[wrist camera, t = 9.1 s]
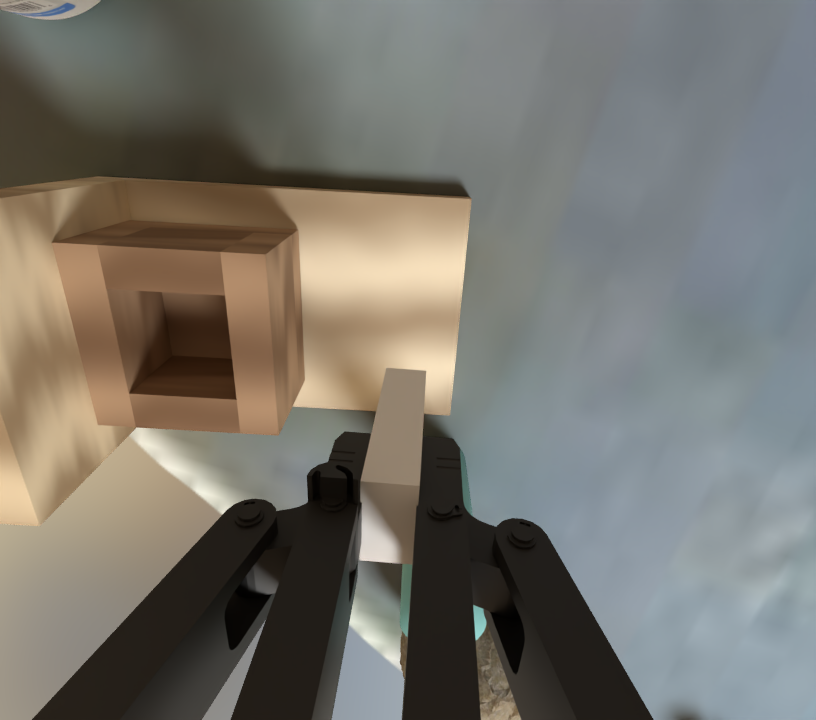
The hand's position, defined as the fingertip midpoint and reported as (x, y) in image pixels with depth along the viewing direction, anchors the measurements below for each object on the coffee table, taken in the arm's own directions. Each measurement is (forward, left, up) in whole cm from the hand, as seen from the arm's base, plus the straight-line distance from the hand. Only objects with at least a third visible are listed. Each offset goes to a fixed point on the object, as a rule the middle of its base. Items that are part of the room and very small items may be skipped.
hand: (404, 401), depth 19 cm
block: (0, -11, -10) cm, 15 cm away
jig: (0, -7, -11) cm, 13 cm away
